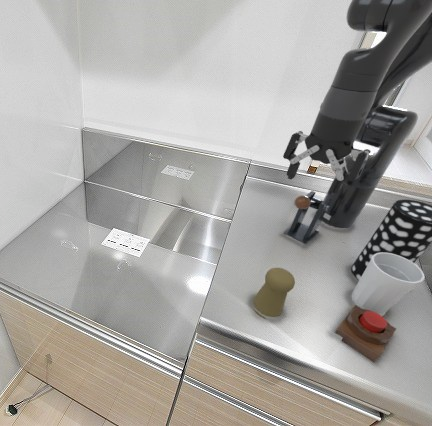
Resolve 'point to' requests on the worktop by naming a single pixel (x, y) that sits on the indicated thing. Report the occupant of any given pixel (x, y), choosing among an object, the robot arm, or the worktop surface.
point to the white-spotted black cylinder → (399, 234)
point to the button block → (364, 335)
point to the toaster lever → (307, 202)
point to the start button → (373, 321)
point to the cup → (386, 282)
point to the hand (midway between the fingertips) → (310, 185)
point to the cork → (273, 292)
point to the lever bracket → (305, 232)
